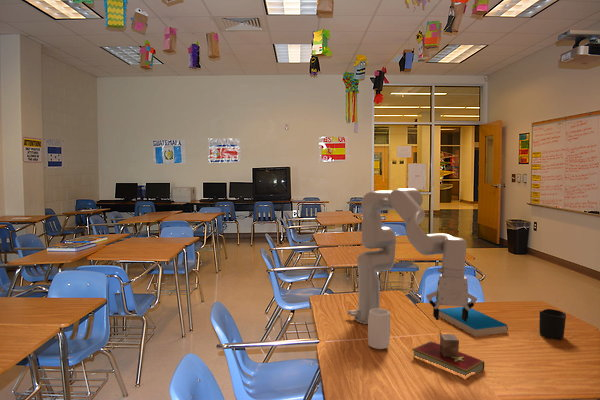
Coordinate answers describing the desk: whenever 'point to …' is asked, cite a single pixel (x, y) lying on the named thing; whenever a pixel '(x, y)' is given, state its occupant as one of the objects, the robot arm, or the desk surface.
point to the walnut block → (449, 345)
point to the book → (473, 321)
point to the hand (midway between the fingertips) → (450, 319)
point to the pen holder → (552, 324)
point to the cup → (379, 328)
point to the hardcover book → (449, 359)
